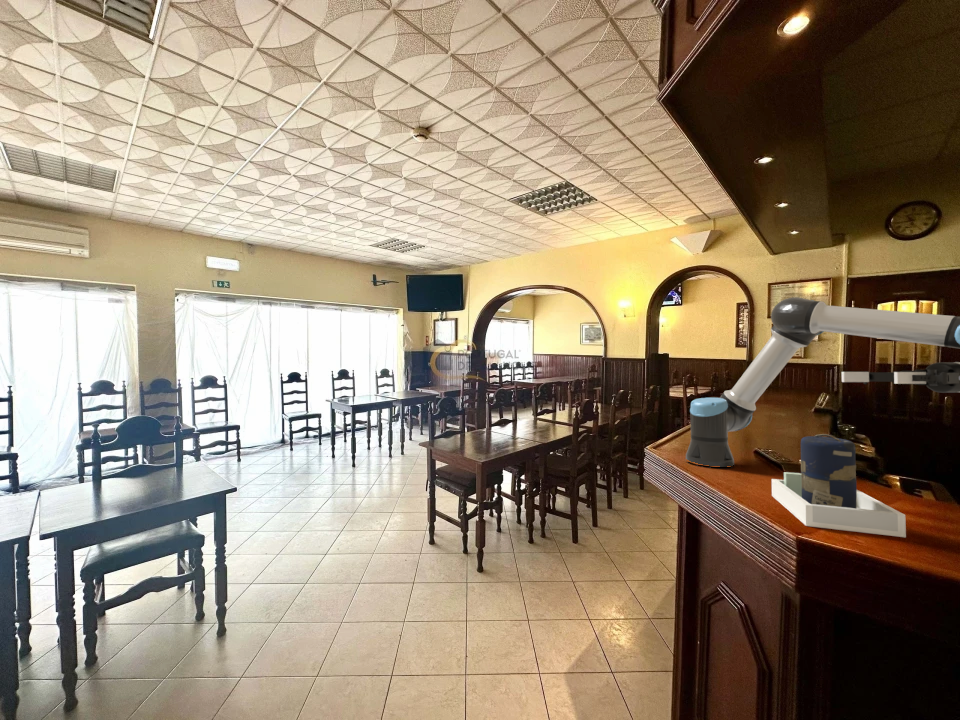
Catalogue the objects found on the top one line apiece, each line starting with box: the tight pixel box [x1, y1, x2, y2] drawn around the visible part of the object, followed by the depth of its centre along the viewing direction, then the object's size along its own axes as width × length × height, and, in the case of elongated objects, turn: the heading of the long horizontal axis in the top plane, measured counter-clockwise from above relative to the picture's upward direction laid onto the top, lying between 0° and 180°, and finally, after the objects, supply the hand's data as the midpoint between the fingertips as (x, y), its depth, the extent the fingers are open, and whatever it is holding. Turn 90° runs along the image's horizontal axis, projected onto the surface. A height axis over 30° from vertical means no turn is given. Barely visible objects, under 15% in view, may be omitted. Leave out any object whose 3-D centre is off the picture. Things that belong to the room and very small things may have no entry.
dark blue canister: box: [800, 433, 858, 508], centre depth 90 cm, size 10×10×18 cm
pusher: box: [783, 471, 802, 497], centre depth 99 cm, size 2×13×6 cm, turn 69°
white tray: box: [771, 478, 907, 538], centre depth 93 cm, size 22×16×4 cm
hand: (867, 377), depth 98 cm, fingers open, 13 cm apart
